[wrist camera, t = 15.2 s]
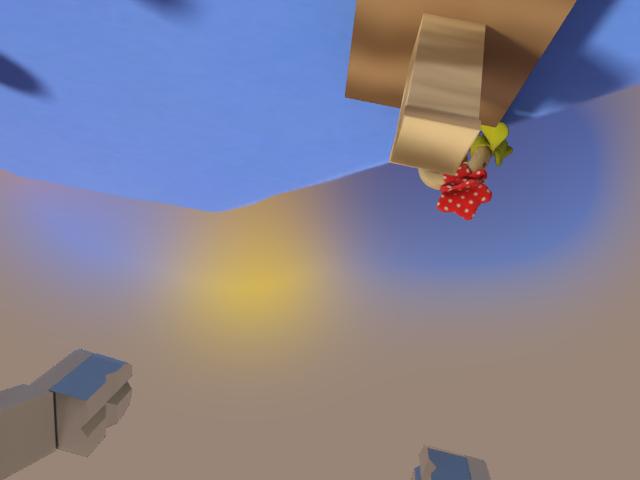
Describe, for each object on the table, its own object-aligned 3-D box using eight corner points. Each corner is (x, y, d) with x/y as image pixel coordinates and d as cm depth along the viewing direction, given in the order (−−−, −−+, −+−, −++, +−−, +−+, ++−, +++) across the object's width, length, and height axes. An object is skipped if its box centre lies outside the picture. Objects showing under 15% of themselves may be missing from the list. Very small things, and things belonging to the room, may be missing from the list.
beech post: (422, 11, 28) (403, 115, 24) (487, 23, 28) (480, 130, 23) (407, 65, 32) (388, 162, 28) (463, 76, 32) (453, 175, 28)
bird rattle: (460, 140, 46) (538, 142, 39) (415, 219, 45) (488, 237, 38) (436, 103, 43) (517, 99, 36) (385, 189, 41) (460, 202, 34)
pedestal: (377, -110, 26) (366, -78, 24) (595, -74, 25) (600, -38, 23) (352, 67, 38) (344, 97, 37) (497, 96, 37) (495, 127, 36)
